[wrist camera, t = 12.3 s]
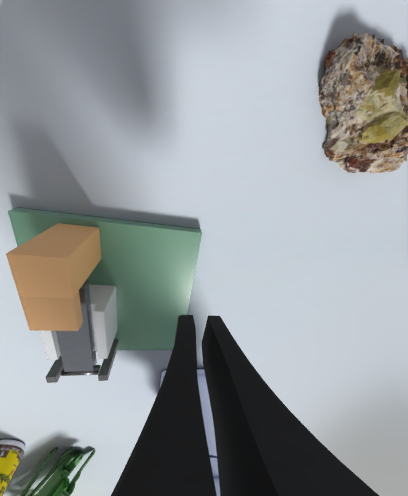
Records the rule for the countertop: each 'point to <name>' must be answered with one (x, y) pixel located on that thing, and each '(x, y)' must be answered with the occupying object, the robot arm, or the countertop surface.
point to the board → (125, 282)
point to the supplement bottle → (9, 460)
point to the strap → (79, 342)
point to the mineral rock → (365, 105)
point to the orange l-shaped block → (55, 275)
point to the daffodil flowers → (58, 475)
